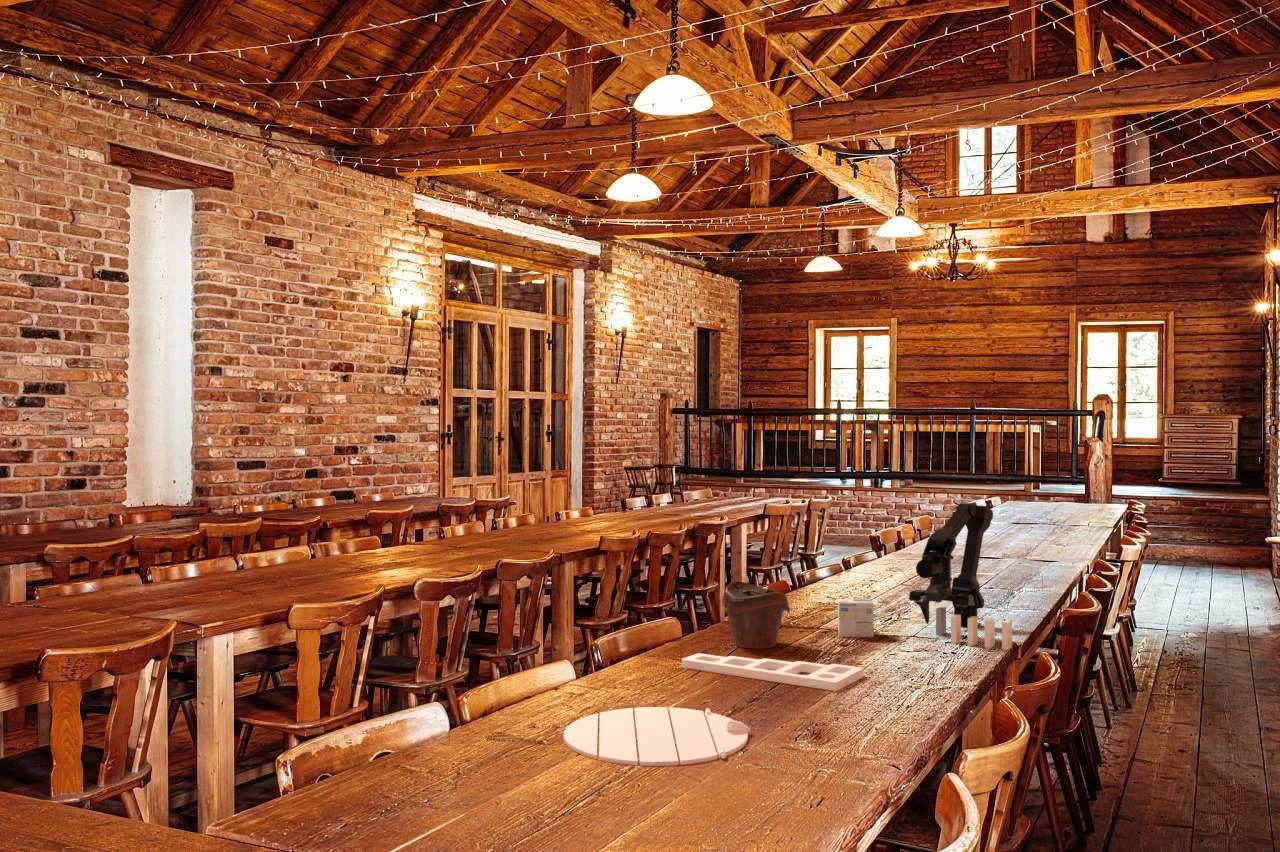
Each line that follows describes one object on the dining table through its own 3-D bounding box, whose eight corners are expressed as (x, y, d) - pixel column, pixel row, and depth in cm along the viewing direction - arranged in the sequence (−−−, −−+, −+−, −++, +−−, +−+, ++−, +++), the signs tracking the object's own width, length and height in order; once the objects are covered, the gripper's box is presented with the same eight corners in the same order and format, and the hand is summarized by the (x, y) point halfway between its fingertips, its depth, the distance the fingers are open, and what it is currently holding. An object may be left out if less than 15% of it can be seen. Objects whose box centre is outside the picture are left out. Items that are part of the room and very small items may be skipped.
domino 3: (972, 642, 321) (972, 616, 321) (977, 643, 320) (977, 616, 320) (967, 645, 317) (967, 618, 317) (972, 646, 316) (973, 619, 316)
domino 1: (940, 632, 336) (940, 606, 336) (945, 632, 335) (945, 607, 335) (936, 634, 333) (936, 608, 333) (941, 635, 332) (941, 609, 332)
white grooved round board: (739, 711, 250) (739, 696, 250) (764, 766, 211) (764, 748, 211) (567, 713, 248) (566, 698, 248) (560, 769, 209) (560, 751, 209)
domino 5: (1006, 646, 315) (1006, 619, 315) (1011, 647, 314) (1011, 620, 314) (1001, 649, 311) (1001, 622, 311) (1007, 650, 310) (1007, 622, 310)
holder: (681, 669, 291) (681, 659, 291) (714, 656, 306) (714, 647, 306) (836, 693, 266) (836, 682, 266) (864, 678, 281) (864, 667, 281)
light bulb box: (871, 633, 335) (871, 598, 335) (874, 637, 328) (874, 602, 328) (837, 632, 336) (837, 598, 336) (838, 637, 329) (838, 602, 329)
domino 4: (989, 644, 318) (989, 617, 318) (994, 645, 317) (994, 618, 317) (984, 647, 314) (984, 620, 314) (990, 648, 313) (990, 620, 313)
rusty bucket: (788, 652, 308) (787, 589, 308) (718, 649, 312) (718, 588, 312) (791, 640, 326) (791, 581, 326) (726, 638, 330) (725, 579, 330)
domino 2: (955, 640, 324) (955, 614, 323) (960, 641, 323) (961, 614, 323) (950, 643, 320) (950, 616, 320) (956, 644, 319) (956, 617, 319)
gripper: (902, 575, 333) (902, 626, 333) (962, 580, 322) (962, 632, 322) (915, 571, 342) (915, 620, 342) (974, 576, 331) (974, 626, 331)
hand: (941, 625), depth 334 cm, fingers open, 8 cm apart
